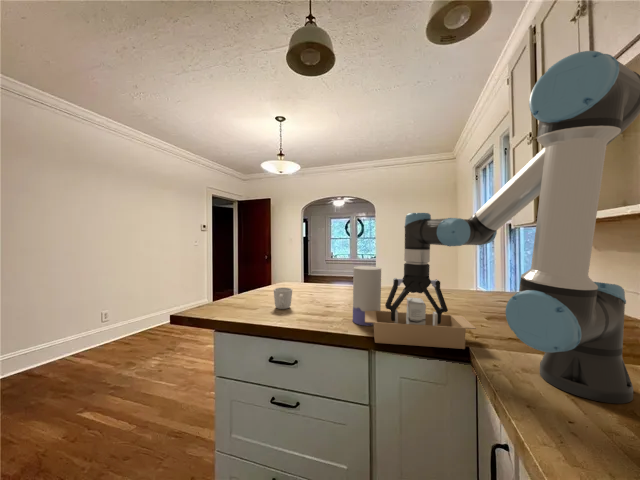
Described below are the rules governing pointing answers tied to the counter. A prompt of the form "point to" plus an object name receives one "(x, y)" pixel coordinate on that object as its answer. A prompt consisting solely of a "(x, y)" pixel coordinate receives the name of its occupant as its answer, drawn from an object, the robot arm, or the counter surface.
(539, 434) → the counter surface
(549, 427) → the counter surface
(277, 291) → the cup
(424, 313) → the ink box
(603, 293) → the robot arm
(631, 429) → the counter surface
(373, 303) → the container
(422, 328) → the carton
